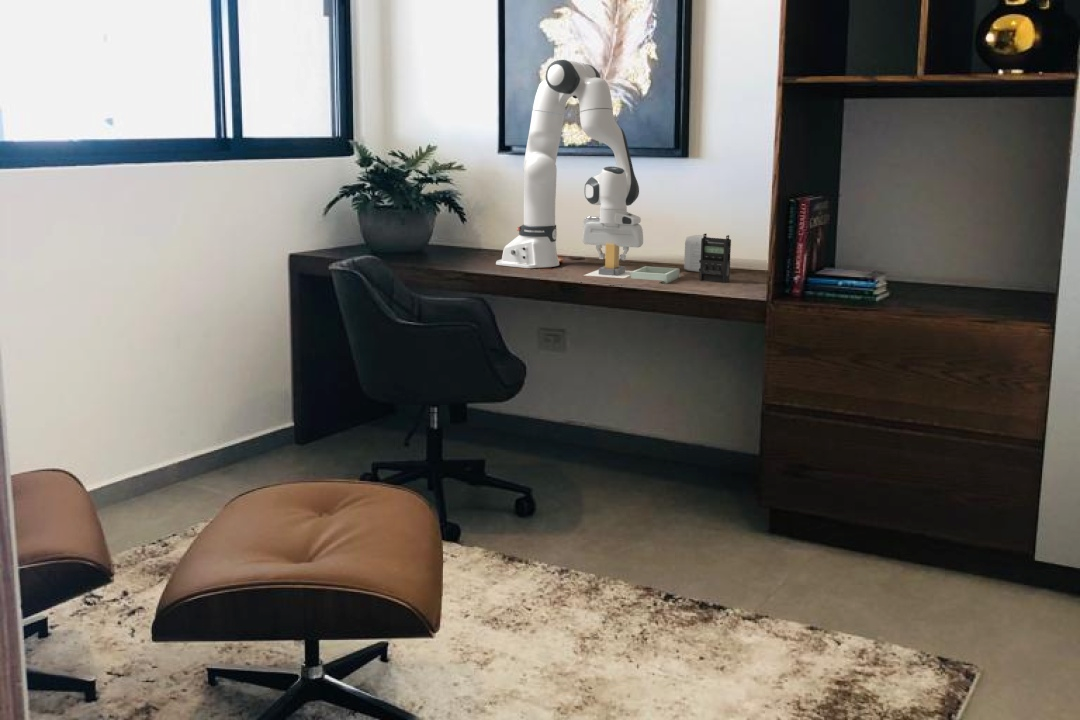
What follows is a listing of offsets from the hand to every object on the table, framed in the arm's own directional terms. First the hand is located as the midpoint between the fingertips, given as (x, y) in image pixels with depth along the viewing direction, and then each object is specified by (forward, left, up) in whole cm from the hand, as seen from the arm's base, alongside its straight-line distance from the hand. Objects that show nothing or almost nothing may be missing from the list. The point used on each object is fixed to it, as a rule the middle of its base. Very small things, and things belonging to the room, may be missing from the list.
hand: (612, 259), depth 365 cm
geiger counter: (+33, +5, -6) cm, 34 cm away
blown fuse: (0, 0, -5) cm, 5 cm away
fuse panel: (0, 0, -6) cm, 6 cm away
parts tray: (+15, 0, -6) cm, 16 cm away
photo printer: (+23, +23, -6) cm, 33 cm away
